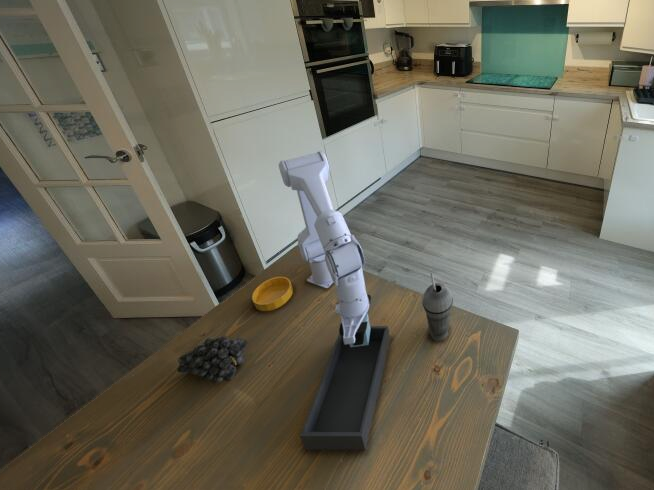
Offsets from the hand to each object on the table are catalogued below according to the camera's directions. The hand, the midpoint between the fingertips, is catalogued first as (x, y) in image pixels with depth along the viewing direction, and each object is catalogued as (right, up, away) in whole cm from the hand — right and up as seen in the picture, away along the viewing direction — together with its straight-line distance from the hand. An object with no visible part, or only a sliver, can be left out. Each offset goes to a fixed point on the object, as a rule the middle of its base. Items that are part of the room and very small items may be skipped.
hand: (360, 333), depth 71 cm
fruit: (-33, -7, 0) cm, 34 cm away
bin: (0, -9, -4) cm, 10 cm away
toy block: (0, -1, +1) cm, 1 cm away
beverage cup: (+18, -4, +7) cm, 20 cm away
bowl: (-30, 0, +17) cm, 34 cm away
